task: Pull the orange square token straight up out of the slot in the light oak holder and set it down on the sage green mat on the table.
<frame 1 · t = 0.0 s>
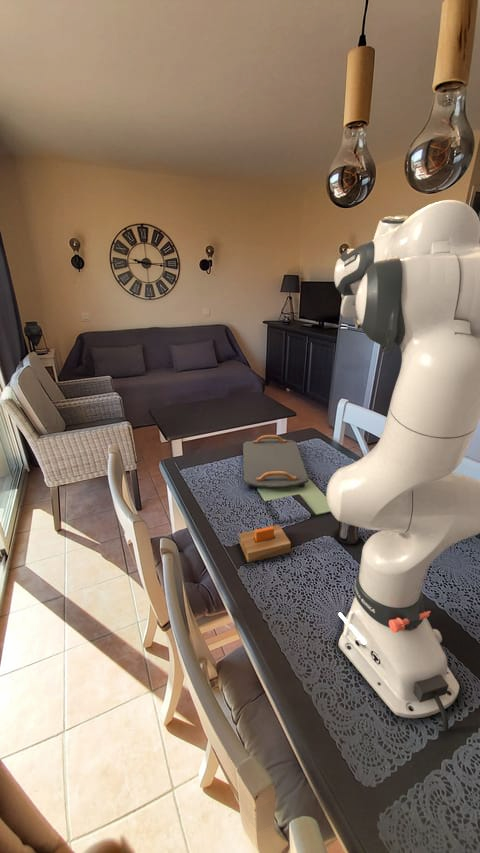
hand: (374, 327, 104), 54 cm above the table, tool tilted 30°, fingers open, 8 cm apart
token: (264, 546, 98), point 1 cm above the table, touching token holder
mat: (295, 499, 120), on the table
serving tray: (272, 466, 141), on the table, touching mat
token holder: (264, 549, 99), on the table
beer glass: (347, 538, 102), on the table
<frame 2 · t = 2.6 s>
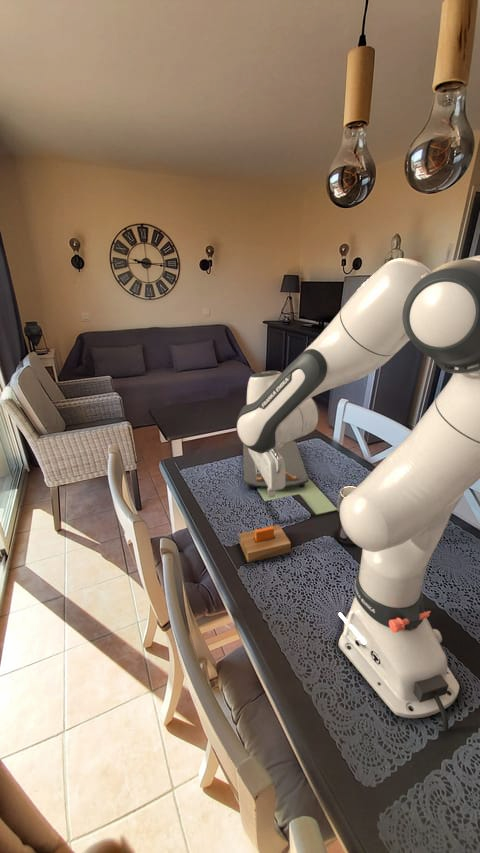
hand: (265, 485, 92), 20 cm above the table, tool pointing down, fingers open, 8 cm apart
nothing on the table moved.
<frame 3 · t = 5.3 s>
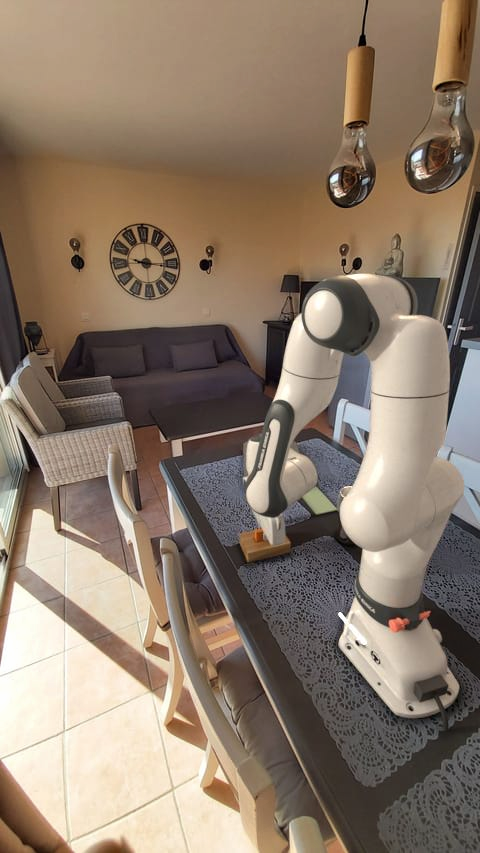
hand: (264, 535, 97), 5 cm above the table, tool pointing down, fingers closed on token, 1 cm apart
token: (264, 546, 98), point 1 cm above the table, touching gripper, token holder
everything else where it was.
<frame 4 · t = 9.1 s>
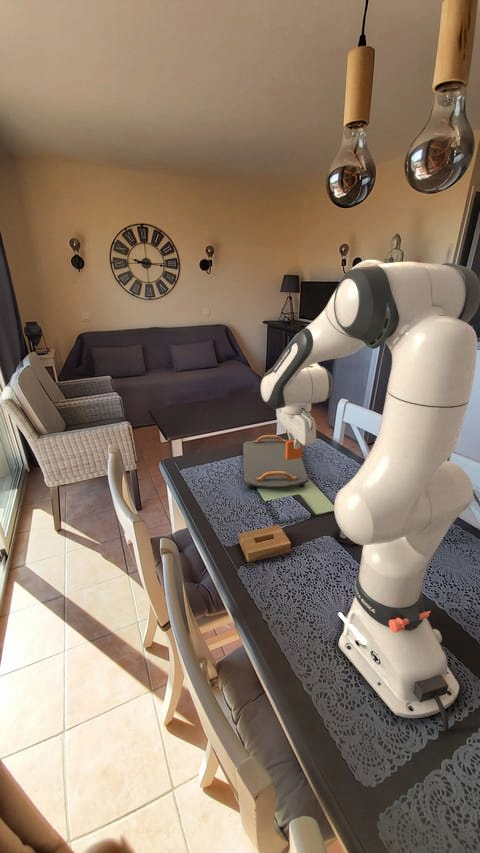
hand: (294, 446, 110), 21 cm above the table, tool pointing down, fingers closed on token
token: (293, 458, 112), point 17 cm above the table, touching gripper
everything else where it was.
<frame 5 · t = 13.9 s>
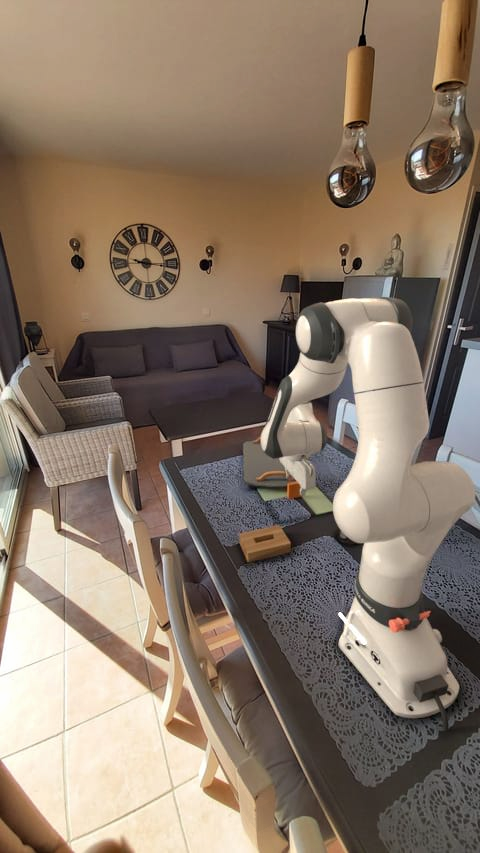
hand: (295, 486, 118), 5 cm above the table, tool pointing down, fingers open, 8 cm apart
token: (294, 498, 120), resting on mat
everything else where it was.
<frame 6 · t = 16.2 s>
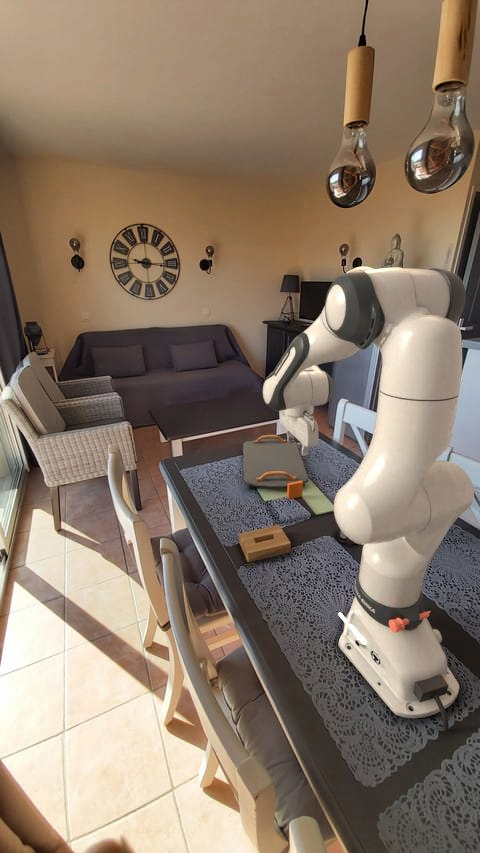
hand: (297, 448, 113), 19 cm above the table, tool pointing down, fingers open, 8 cm apart
nothing on the table moved.
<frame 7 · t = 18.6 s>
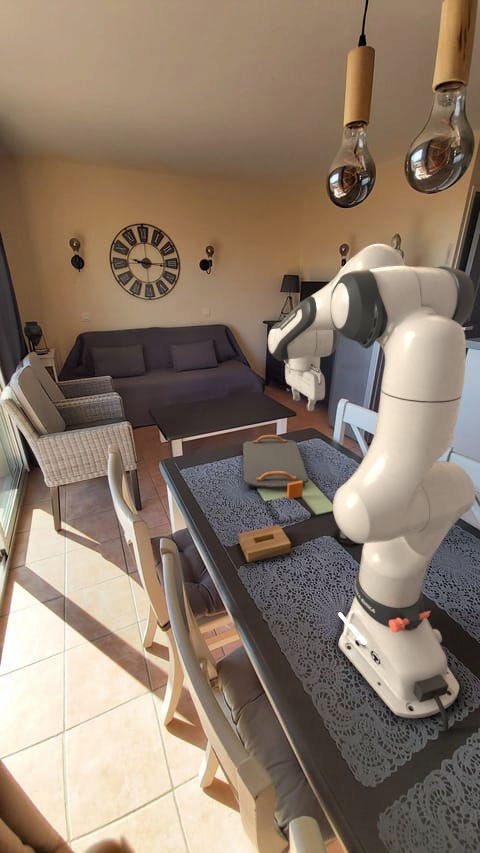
hand: (303, 405, 113), 31 cm above the table, tool pointing down, fingers open, 8 cm apart
nothing on the table moved.
at the end: token inside the target area on the mat (0.1 cm from its centre), point 0.4 cm above the mat's base; the gripper is holding nothing; token moved 26.1 cm from its start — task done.
